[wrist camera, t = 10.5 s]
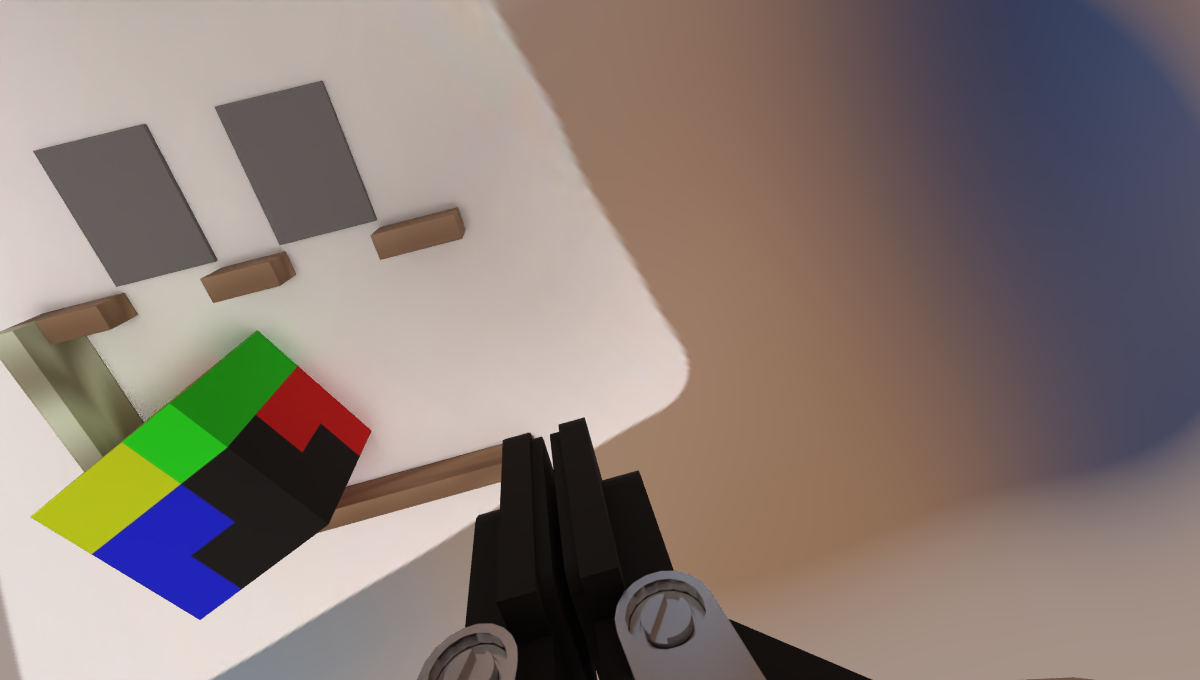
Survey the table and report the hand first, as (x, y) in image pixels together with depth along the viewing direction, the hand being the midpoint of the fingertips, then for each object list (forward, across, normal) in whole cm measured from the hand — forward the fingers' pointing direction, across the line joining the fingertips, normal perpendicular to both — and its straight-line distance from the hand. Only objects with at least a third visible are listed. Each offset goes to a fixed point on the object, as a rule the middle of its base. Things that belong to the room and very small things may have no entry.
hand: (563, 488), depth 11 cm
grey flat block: (+27, +22, -7) cm, 36 cm away
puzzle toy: (+27, +22, +8) cm, 36 cm away
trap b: (+27, +12, -7) cm, 30 cm away
